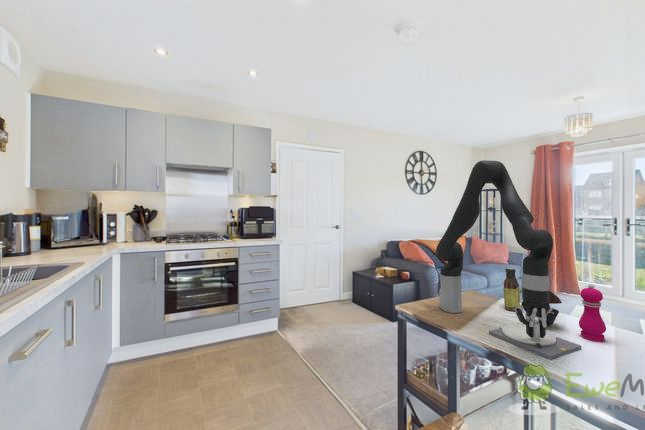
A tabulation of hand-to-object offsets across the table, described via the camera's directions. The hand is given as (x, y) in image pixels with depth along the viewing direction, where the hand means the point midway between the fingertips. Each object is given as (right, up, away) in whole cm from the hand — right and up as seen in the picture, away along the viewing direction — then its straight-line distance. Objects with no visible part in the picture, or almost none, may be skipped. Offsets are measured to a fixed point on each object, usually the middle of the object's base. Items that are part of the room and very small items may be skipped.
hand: (535, 336), depth 95 cm
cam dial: (+2, -3, +6) cm, 6 cm away
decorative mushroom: (+18, -4, +18) cm, 26 cm away
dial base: (+3, -4, +5) cm, 7 cm away
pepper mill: (+26, -4, +6) cm, 27 cm away
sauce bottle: (+18, -4, +37) cm, 41 cm away
